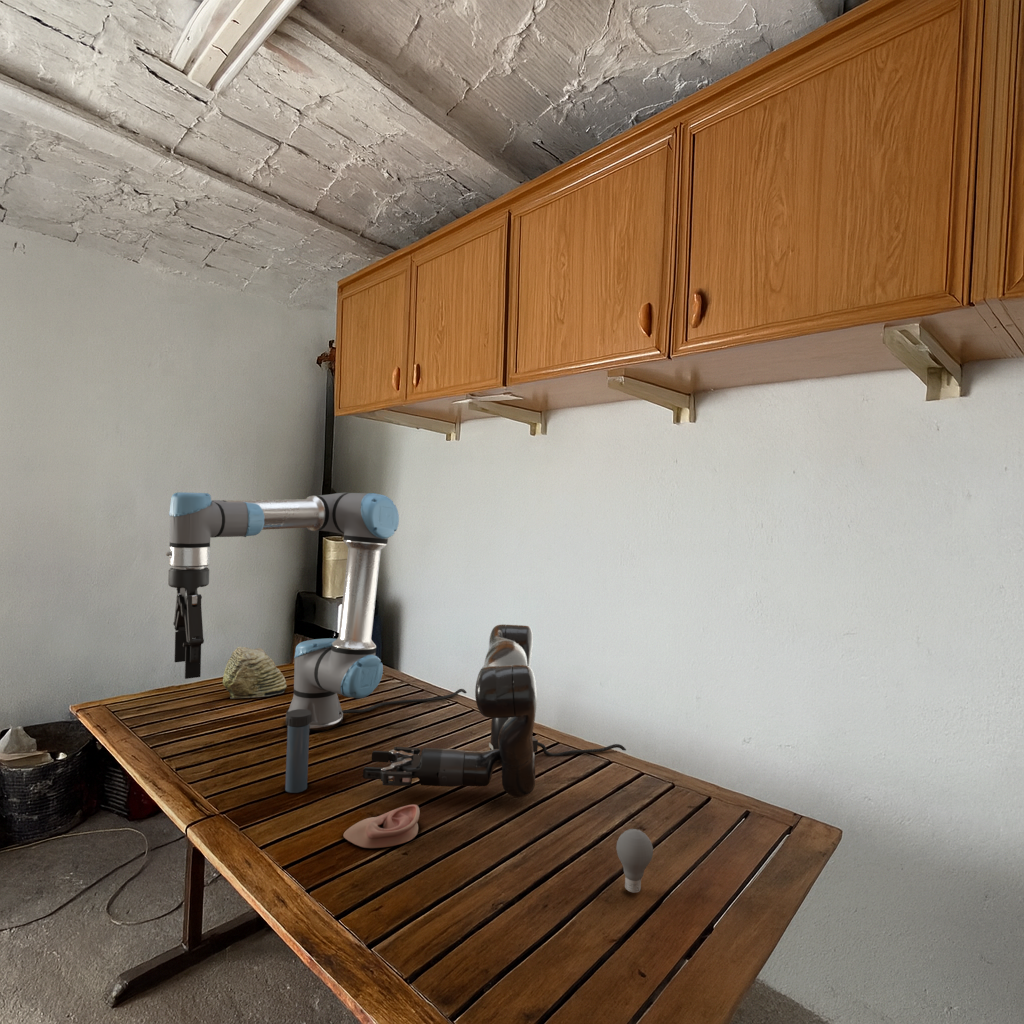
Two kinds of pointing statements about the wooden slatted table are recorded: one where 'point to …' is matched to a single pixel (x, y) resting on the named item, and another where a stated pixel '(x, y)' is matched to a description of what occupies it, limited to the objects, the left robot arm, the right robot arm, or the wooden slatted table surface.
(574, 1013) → the wooden slatted table surface
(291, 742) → the blue-grey cylindrical bottle
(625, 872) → the light bulb
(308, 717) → the lid
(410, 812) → the anatomical model
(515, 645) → the right robot arm
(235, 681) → the fossil
